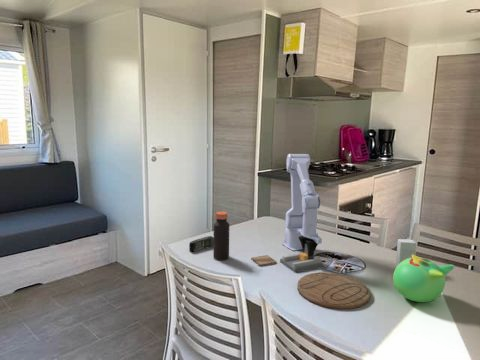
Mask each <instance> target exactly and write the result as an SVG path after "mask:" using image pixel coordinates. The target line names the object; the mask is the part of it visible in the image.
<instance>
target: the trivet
mask: <svg viewBox="0 0 480 360" xmlns="http://www.w3.org/2000/svg"><path fill="white" fill-rule="evenodd" d="M297 291H298V294H299V295H300V296H301V298H303V299H304V300H306V301H307V302H309V303H311V304H313V305H316V306H318V307H321V308H326V309H333V310H338V311H339V310H340V311H341V310H343V311H345V310H346V311H347V310H354V309H359V308H361V307H364V306H366V305H367V304H368V303H369V302H370V299H371V292H370V288H369V287H368V286H367V285H366V284H365V283H364V282H363V281H361V280H359V279H358V278H355V277H352V276H349V275H346V274H342V273H338V272H330V271H328V272H327V271H326V272H322V271H321V272H313V273H309V274H308V273H307V274H305V275H304V276H301V278H299V280H298V281H297Z"/></svg>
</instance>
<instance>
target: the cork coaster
mask: <svg viewBox="0 0 480 360" xmlns="http://www.w3.org/2000/svg"><path fill="white" fill-rule="evenodd" d="M250 260H251V261H252V260H253V261H252V262H254V263H255V264H256V265H257V264H258V265H257V266H258V267H264V266H270V265H274V264H278V263H277V260H275V259H274V258H273V257H271V256H270V255H268V254H266V255H261V256H259V255H258V256H254V257H251V258H250Z"/></svg>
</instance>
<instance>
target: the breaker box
mask: <svg viewBox="0 0 480 360" xmlns="http://www.w3.org/2000/svg"><path fill="white" fill-rule="evenodd" d="M300 253H301V252H300ZM300 253H294V254H288V255H283V256H282V258H280V261H279V263H281V264H282V265H283V266H284V267H286V268H288V269H289V270H290V271H291V272H293V273H299V272H305V271H310V270H314V269H320V268H323V267H324V262H322V259H321V258H319V257H316V258H315V257H314V259H311V260H305V261H302V260H300Z"/></svg>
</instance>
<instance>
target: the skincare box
mask: <svg viewBox="0 0 480 360" xmlns="http://www.w3.org/2000/svg"><path fill="white" fill-rule="evenodd" d="M396 245H397V246H396V256H395V257H396V259H395V268H396V267H397V266H398V264H399V263H401V262H402V261H403V260H405V259H408V258H412V255H416V249H417V242H416V241H415V240H413V239H403V238H399V239H397V244H396Z"/></svg>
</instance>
